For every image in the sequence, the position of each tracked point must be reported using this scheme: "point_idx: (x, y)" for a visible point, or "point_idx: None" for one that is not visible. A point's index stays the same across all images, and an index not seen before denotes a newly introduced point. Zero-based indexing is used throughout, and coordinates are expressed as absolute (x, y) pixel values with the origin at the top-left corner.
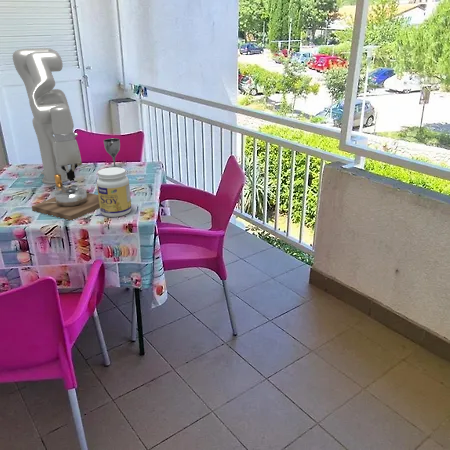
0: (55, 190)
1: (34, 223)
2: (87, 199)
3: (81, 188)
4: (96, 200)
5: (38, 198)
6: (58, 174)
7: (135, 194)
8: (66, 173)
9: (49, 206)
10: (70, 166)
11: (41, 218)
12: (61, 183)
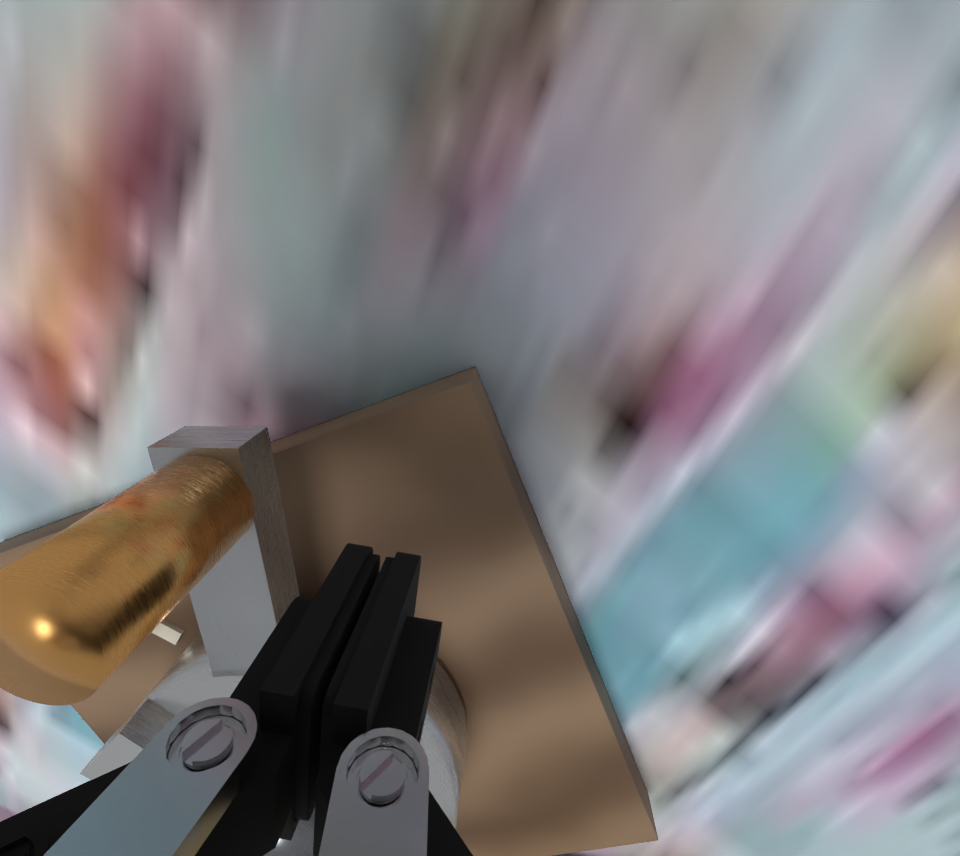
0: (92, 772)
1: (32, 753)
2: (466, 747)
3: (434, 786)
4: (521, 809)
5: (49, 209)
6: (53, 637)
7: (938, 783)
8: (247, 675)
9: (116, 678)
10: (319, 852)
11: (77, 715)
12: (209, 570)
